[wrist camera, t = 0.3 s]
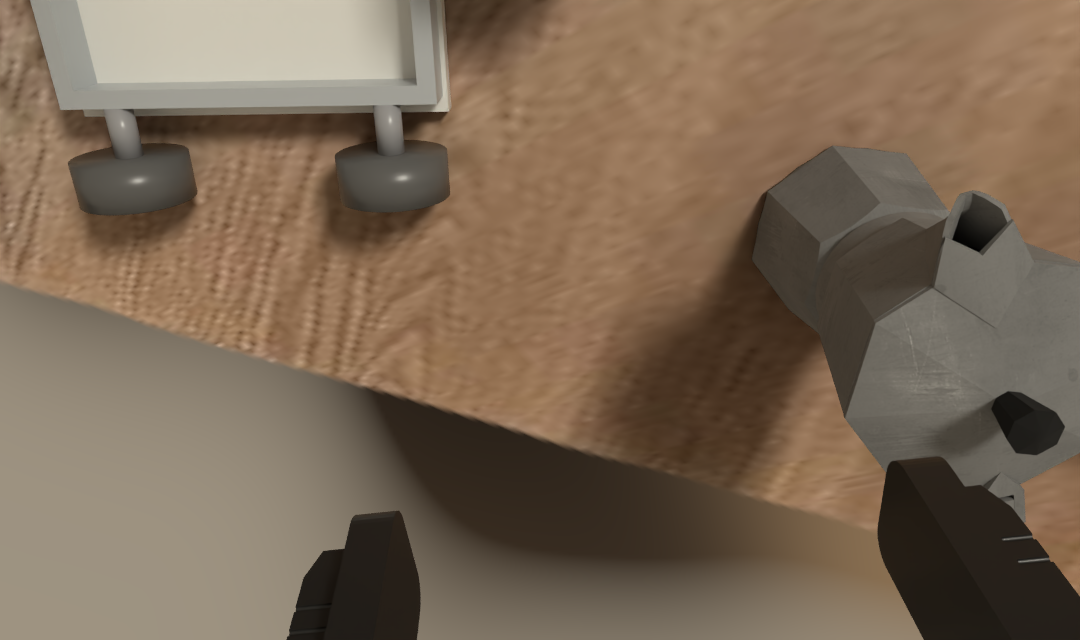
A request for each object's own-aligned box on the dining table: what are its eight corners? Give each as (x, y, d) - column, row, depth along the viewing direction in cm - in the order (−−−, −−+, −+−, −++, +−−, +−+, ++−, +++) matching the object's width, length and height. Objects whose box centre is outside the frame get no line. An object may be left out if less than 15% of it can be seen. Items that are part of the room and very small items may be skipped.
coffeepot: (724, 132, 38) (850, 279, 21) (928, 74, 36) (1228, 184, 20) (776, 400, 44) (905, 670, 28) (952, 359, 42) (1195, 618, 26)
